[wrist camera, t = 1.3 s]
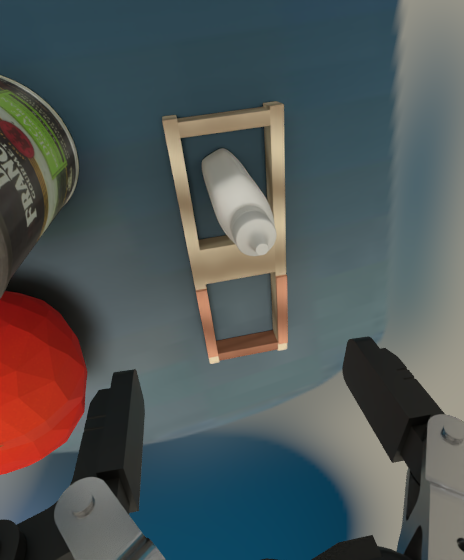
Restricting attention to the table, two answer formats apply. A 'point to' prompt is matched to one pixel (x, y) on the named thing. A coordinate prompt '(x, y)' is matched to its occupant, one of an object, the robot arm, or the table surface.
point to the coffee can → (30, 172)
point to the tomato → (37, 380)
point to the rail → (221, 250)
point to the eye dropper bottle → (239, 203)
